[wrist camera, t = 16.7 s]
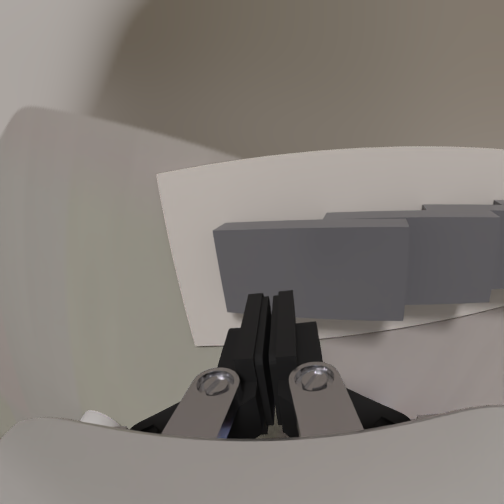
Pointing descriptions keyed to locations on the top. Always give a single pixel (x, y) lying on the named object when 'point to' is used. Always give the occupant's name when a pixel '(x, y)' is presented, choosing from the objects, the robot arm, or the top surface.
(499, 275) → the domino
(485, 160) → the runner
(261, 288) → the domino
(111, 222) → the top surface
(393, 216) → the domino
